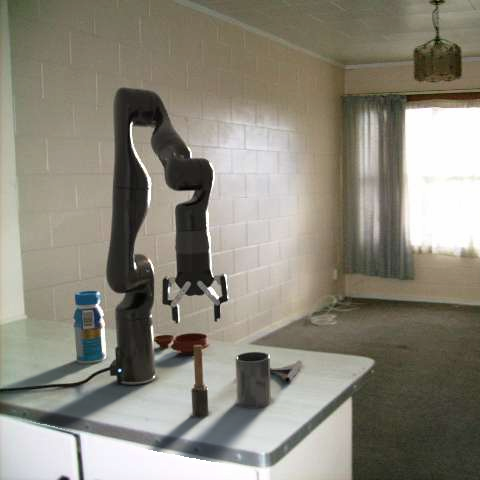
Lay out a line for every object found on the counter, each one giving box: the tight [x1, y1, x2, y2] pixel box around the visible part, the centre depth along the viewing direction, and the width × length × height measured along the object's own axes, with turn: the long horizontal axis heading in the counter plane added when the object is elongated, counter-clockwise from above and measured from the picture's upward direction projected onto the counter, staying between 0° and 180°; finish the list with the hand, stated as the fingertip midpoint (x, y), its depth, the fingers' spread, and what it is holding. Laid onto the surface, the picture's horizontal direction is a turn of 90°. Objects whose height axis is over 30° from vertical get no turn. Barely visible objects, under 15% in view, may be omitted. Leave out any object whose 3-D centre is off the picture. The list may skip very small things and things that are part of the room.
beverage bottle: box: [73, 290, 107, 364], centre depth 185 cm, size 8×8×20 cm
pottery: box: [153, 332, 211, 356], centre depth 194 cm, size 12×20×4 cm, turn 59°
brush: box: [190, 345, 210, 418], centre depth 143 cm, size 4×4×16 cm
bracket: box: [270, 360, 303, 384], centre depth 171 cm, size 14×15×3 cm
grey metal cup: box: [234, 351, 272, 409], centre depth 150 cm, size 8×8×11 cm
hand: (196, 321), depth 141 cm, fingers open, 8 cm apart
